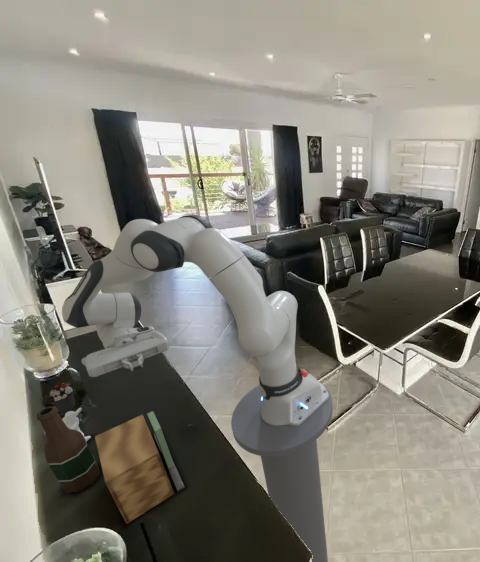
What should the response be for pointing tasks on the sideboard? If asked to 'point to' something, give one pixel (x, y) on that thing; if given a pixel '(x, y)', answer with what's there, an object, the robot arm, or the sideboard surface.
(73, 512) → the sideboard surface
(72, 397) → the sundae
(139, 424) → the cupboard
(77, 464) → the beer bottle
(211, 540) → the sideboard surface
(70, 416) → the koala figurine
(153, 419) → the sliding door
